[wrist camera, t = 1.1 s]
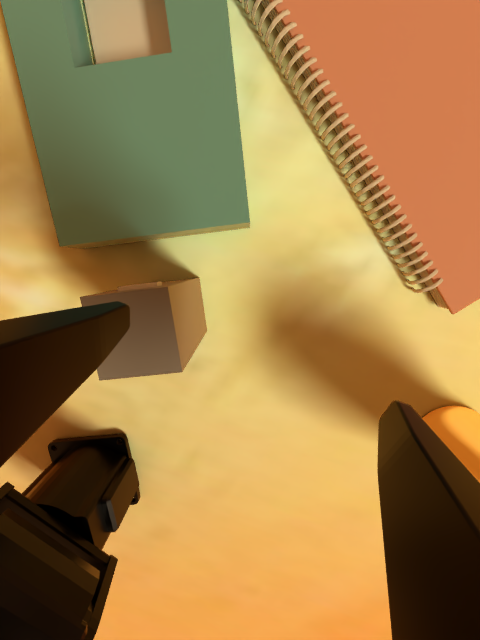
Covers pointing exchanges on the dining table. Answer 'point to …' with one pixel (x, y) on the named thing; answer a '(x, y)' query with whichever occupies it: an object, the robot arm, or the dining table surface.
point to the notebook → (400, 119)
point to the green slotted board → (132, 116)
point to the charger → (154, 328)
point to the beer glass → (458, 433)
